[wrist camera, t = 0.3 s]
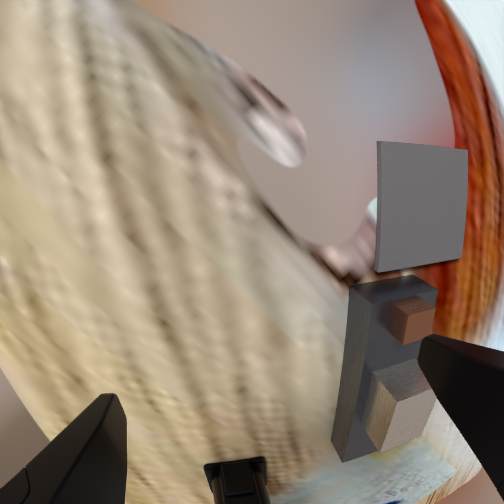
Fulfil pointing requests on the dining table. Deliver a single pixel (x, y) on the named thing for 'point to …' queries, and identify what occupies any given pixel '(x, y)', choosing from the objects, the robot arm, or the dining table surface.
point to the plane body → (377, 348)
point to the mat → (419, 204)
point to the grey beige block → (397, 405)
